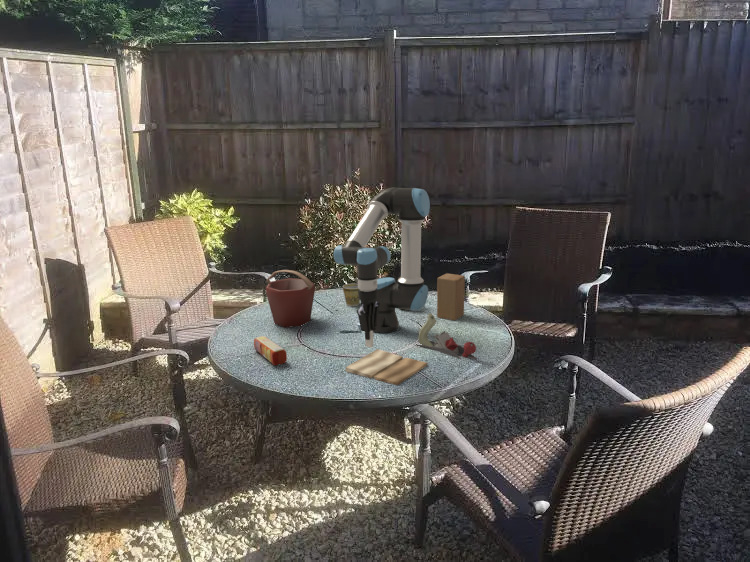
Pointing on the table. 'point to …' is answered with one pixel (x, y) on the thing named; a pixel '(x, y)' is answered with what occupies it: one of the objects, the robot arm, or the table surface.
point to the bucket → (290, 299)
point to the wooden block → (450, 296)
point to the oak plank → (401, 371)
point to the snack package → (270, 350)
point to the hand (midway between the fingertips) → (369, 346)
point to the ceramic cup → (351, 294)
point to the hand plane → (444, 342)
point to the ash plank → (373, 363)
